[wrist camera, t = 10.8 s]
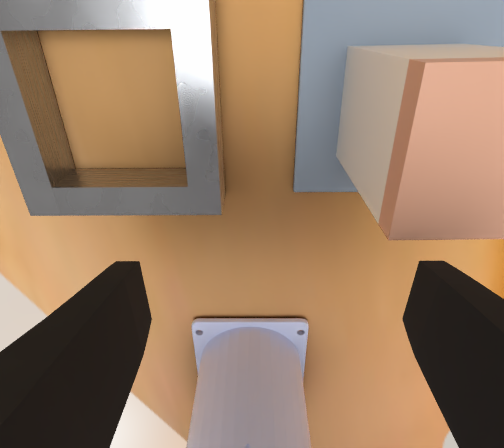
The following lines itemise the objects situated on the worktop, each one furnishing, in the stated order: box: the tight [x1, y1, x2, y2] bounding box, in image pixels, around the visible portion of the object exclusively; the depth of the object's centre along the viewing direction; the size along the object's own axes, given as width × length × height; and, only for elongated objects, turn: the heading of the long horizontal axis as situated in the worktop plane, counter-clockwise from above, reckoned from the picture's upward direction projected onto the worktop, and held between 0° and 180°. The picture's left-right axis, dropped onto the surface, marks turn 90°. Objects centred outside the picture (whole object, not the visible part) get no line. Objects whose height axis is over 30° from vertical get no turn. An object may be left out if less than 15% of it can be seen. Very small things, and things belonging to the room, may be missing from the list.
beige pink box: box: [336, 44, 504, 240], centre depth 13 cm, size 5×5×8 cm
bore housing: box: [0, 0, 225, 216], centre depth 16 cm, size 10×10×2 cm
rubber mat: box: [293, 0, 504, 192], centre depth 17 cm, size 9×9×1 cm
